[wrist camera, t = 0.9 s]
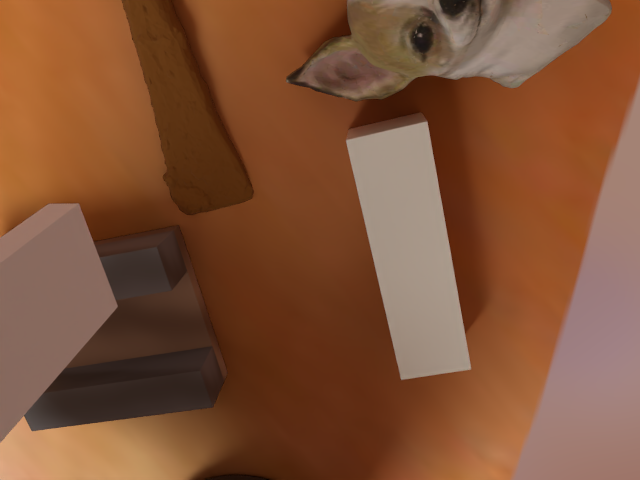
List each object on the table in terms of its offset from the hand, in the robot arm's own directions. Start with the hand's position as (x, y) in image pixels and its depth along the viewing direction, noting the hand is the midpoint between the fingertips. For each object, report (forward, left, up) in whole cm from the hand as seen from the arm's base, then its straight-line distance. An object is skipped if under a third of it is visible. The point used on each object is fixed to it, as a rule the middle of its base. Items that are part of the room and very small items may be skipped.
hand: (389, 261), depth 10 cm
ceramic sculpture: (+5, -4, -24) cm, 25 cm away
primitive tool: (+5, +11, -24) cm, 27 cm away
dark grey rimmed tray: (-11, +22, -23) cm, 34 cm away
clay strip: (-9, 0, -24) cm, 25 cm away
